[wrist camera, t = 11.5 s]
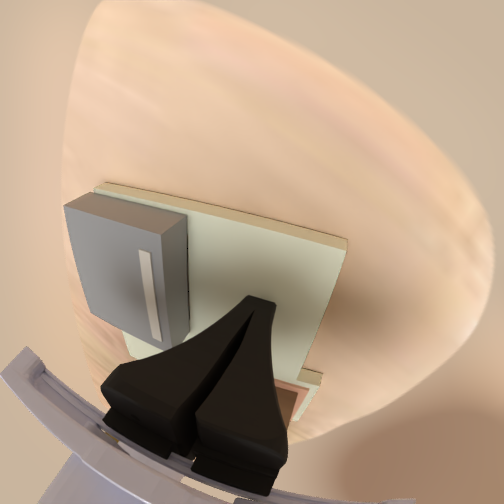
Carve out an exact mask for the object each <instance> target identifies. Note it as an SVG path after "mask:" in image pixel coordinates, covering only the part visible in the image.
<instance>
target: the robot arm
mask: <svg viewBox="0 0 504 504" xmlns="http://www.w3.org/2000/svg"><path fill="white" fill-rule="evenodd" d="M276 306H277V305H276V304H275V302H271V301H268V300H264V299H261V298H258V297H254V296H251V295H247V296H246V297H245V298H244V299H243V300H242V301H240V302H239V303H238V304H237V305H236V306H235V307H234V308H233V309H232V310H230V311H229V312H228V313H227V314H225V315H224V316H223V317H222V318H220V319H219V320H218V321H216V322H215V323H214V324H212V325H211V326H209V327H208V328H206V329H205V330H203V331H202V332H200V333H199V334H197V335H195V336H194V337H192V338H190V339H188V340H187V341H185V342H183V343H181V344H179V345H177V346H175V347H172V348H170V349H168V350H166V351H163V352H160V353H158V354H155V355H152V356H149V357H146V358H143V359H140V360H136V361H132V362H128V363H124V364H120V365H119V366H118V367H117V368H116V369H115V370H114V371H113V372H112V373H111V374H110V375H109V376H108V378H107V379H106V380H105V381H104V383H103V384H102V385H101V392H102V394H103V396H104V397H105V399H106V400H107V402H108V403H109V405H110V406H111V408H110V410H109V411H108V412H107V414H105V413H103V412H102V411H100V410H99V409H97V408H96V407H94V406H93V405H92V404H90V403H89V402H87V401H86V400H85V399H83V398H82V397H81V396H79V395H78V394H77V393H75V392H74V391H73V390H71V389H70V388H69V387H68V386H67V385H65V384H64V383H63V382H62V381H60V380H59V379H58V378H57V377H56V376H55V375H53V374H52V373H51V372H50V371H49V370H48V369H46V367H45V365H44V363H43V362H42V361H41V360H40V358H39V357H38V356H37V355H36V354H35V353H34V352H33V351H32V350H31V349H30V348H29V347H27V346H26V347H25V348H24V349H23V350H22V351H21V352H20V353H19V354H18V355H17V356H16V357H15V358H14V359H13V360H12V361H11V363H10V364H9V365H8V366H7V367H6V368H5V369H4V370H3V371H2V372H1V373H0V377H1V378H2V379H3V381H4V382H5V383H6V384H7V385H8V387H9V388H10V389H11V390H12V391H13V393H14V394H15V395H16V396H17V397H18V399H19V400H20V401H21V402H22V403H23V404H24V405H25V407H26V408H27V409H28V410H29V411H30V412H31V413H32V414H33V415H34V416H35V417H36V418H37V419H38V420H39V421H40V422H41V423H42V424H43V425H44V426H45V427H46V428H47V429H48V430H49V431H50V432H51V433H52V434H53V435H54V436H55V437H56V438H57V439H59V441H61V442H62V443H63V444H64V445H65V446H66V447H67V448H69V449H70V450H71V451H72V452H73V453H72V455H71V456H70V457H69V459H68V460H67V462H66V463H65V465H64V466H63V467H62V469H61V470H60V471H59V473H58V474H57V476H56V477H55V479H54V480H53V481H52V483H51V484H50V486H49V487H48V489H47V490H46V492H45V493H44V494H43V496H42V497H41V499H40V500H39V502H38V503H37V504H231V503H228V502H225V501H223V500H220V499H218V498H215V497H213V496H210V495H208V494H205V493H203V492H201V491H198V490H196V489H194V488H191V487H189V486H187V485H185V484H183V483H181V482H180V481H181V479H182V478H183V477H184V476H187V477H189V478H192V479H194V480H196V481H199V482H201V483H204V484H206V485H209V486H212V487H214V488H217V489H220V490H222V491H226V492H228V493H231V494H234V495H238V496H241V497H244V498H248V499H251V500H247V499H242V498H236V499H235V501H234V503H233V504H415V503H416V499H414V498H413V499H390V500H384V501H382V502H380V503H370V502H353V501H342V500H333V499H326V498H319V497H312V496H306V495H301V494H296V493H291V492H287V491H282V490H278V489H273V488H272V486H273V484H274V481H275V479H276V478H277V475H278V473H279V470H280V468H281V467H282V466H283V465H284V464H285V463H286V461H287V457H288V439H287V430H286V427H285V424H284V420H283V417H282V414H281V410H280V406H279V402H278V397H277V392H276V388H275V382H274V375H273V366H272V352H271V335H272V324H273V320H274V315H275V311H276ZM101 429H102V430H104V431H105V432H107V433H108V434H110V435H111V436H113V437H114V438H116V439H117V440H119V442H118V443H117V442H116V441H115V440H114V439H113V438H111V437H110V436H109V435H107V434H106V433H105V432H103V431H102V430H101ZM195 457H196V459H195ZM194 459H195V461H194V462H193V460H194ZM252 500H254V501H252Z"/></svg>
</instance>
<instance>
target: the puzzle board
mask: <svg viewBox="0 0 504 504" xmlns="http://www.w3.org/2000/svg"><path fill="white" fill-rule="evenodd" d="M93 189H94V193H97V194H101V195H105V196H110V197H114V198H118V199H122V200H127V201H131V202H135V203H139V204H143V205H148V206H152V207H156V208H160V209H164V210H168V211H172V212H176V213H180V214H184V215H187V235H188V269H189V305H190V306H188V308H189V328H190V332H189V334H188V335H187V336H186V338H185V339H184V341H183V342H185V341H187V340H188V339H190V338H192V337H194V336H195V335H197V334H199V333H200V332H202V331H203V330H205V329H206V328H208V327H209V326H211V325H212V324H214V323H215V322H216V321H218V320H219V319H220V318H222V317H223V316H224V315H225V314H227V313H228V312H229V311H230V310H232V309H233V308H234V307H235V306H236V305H237V304H238V303H239V302H240V301H242V300H243V299H244V298H245V297H246V296H247V295H251V296H254V297H258V298H261V299H264V300H268V301H271V302H275V304H276V305H277V306H276V311H275V315H274V320H273V324H272V335H271V352H272V366H273V375H274V382H275V386H276V387H280V388H283V389H286V390H290V391H293V392H297V393H298V395H297V399H296V402H295V406H294V409H293V412H292V416H291V419H290V422H291V420H294V421H298V420H299V418H300V417H301V415H302V414H303V412H304V411H305V409H306V408H307V406H308V405H309V403H310V401H311V400H312V398H313V397H314V395H315V393H316V392H317V390H318V388H319V387H320V383H321V378H322V373H318V372H314V371H310V370H307V369H303V368H302V366H303V363H304V361H305V359H306V357H307V354H308V352H309V350H310V347H311V345H312V343H313V340H314V338H315V335H316V333H317V331H318V328H319V326H320V323H321V321H322V318H323V316H324V313H325V311H326V308H327V305H328V303H329V300H330V297H331V295H332V292H333V289H334V287H335V284H336V281H337V278H338V275H339V272H340V270H341V267H342V264H343V261H344V258H345V255H346V252H347V239H343V238H340V237H336V236H332V235H329V234H325V233H321V232H318V231H314V230H310V229H307V228H303V227H299V226H295V225H292V224H288V223H284V222H280V221H276V220H272V219H268V218H264V217H260V216H256V215H252V214H248V213H244V212H240V211H236V210H232V209H227V208H223V207H219V206H215V205H210V204H206V203H202V202H197V201H193V200H188V199H184V198H179V197H175V196H170V195H165V194H161V193H156V192H151V191H146V190H141V189H136V188H131V187H126V186H121V185H116V184H111V183H104V184H101V185H99V186H97V187H95V188H93ZM122 332H123V336H124V339H125V342H126V345H127V348H128V351H129V354H130V356H132V357H134V358H136V359H138V360H140V359H143V358H146V357H149V356H152V355H155V354H158V353H160V352H163V350H161V349H159V348H157V347H154V346H152V345H150V344H148V343H146V342H144V341H142V340H140V339H138V338H136V337H134V336H132V335H130V334H128V333H126V332H124V331H122ZM183 342H182V343H183Z"/></svg>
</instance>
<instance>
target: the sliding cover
mask: <svg viewBox="0 0 504 504" xmlns="http://www.w3.org/2000/svg"><path fill="white" fill-rule="evenodd" d="M63 206H64V212H65V217H66V222H67V228H68V232H69V237H70V242H71V246H72V250H73V254H74V258H75V262H76V266H77V270H78V273H79V277H80V280H81V284H82V287H83V290H84V294H85V297H86V300H87V303H88V306H89V309H90V312H91V313H92V314H94V315H95V316H97V317H99V318H101V319H102V320H104V321H106V322H108V323H110V324H111V325H113V326H115V327H117V328H119V329H121V330H122V331H124V332H126V333H128V334H130V335H132V336H134V337H136V338H138V339H140V340H142V341H144V342H146V343H148V344H150V345H152V346H154V347H157V348H159V349H161V350H163V351H166V350H168V349H170V348H172V347H175V346H177V345H179V344H181V343H182V342H183V341H184V339H185V338H186V336H187V335H188V334H189V332H190V328H189V308H188V280H187V215H184V214H180V213H176V212H172V211H168V210H164V209H160V208H156V207H152V206H148V205H143V204H139V203H135V202H131V201H127V200H122V199H118V198H114V197H110V196H105V195H101V194H97V193H92V192H89V193H87V194H85V195H83V196H81V197H79V198H77V199H75V200H73V201H71V202H69V203H67V204H65V205H63Z"/></svg>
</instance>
